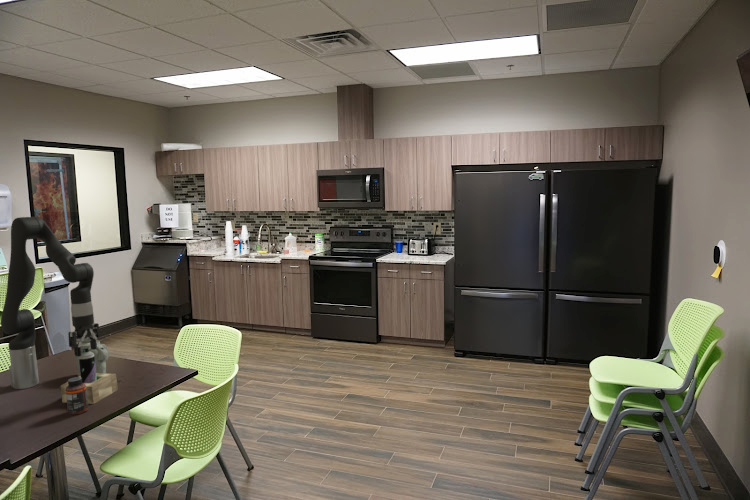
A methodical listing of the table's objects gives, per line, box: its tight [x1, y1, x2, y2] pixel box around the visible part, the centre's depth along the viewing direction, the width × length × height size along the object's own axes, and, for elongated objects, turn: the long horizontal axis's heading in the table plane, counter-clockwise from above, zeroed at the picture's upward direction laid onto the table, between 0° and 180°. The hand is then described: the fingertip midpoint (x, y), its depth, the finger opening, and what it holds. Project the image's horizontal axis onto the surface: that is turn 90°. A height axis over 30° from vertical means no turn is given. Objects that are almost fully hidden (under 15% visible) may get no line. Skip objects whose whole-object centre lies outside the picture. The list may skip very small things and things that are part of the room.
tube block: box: [60, 373, 118, 405], centre depth 207 cm, size 14×14×7 cm
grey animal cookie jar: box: [74, 337, 110, 377], centre depth 229 cm, size 16×15×19 cm
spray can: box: [79, 348, 97, 383], centre depth 206 cm, size 6×6×20 cm
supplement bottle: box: [66, 376, 89, 416], centre depth 191 cm, size 7×7×13 cm
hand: (86, 352), depth 205 cm, fingers open, 8 cm apart
